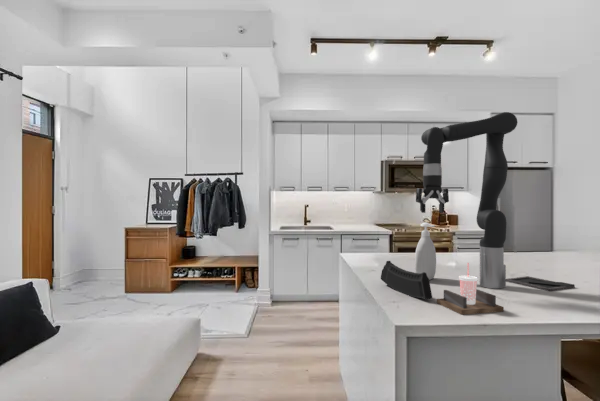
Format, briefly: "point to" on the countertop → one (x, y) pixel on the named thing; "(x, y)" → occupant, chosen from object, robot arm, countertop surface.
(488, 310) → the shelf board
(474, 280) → the beverage cup
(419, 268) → the soap bottle
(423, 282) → the magazine
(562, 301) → the countertop surface
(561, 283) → the picture frame
